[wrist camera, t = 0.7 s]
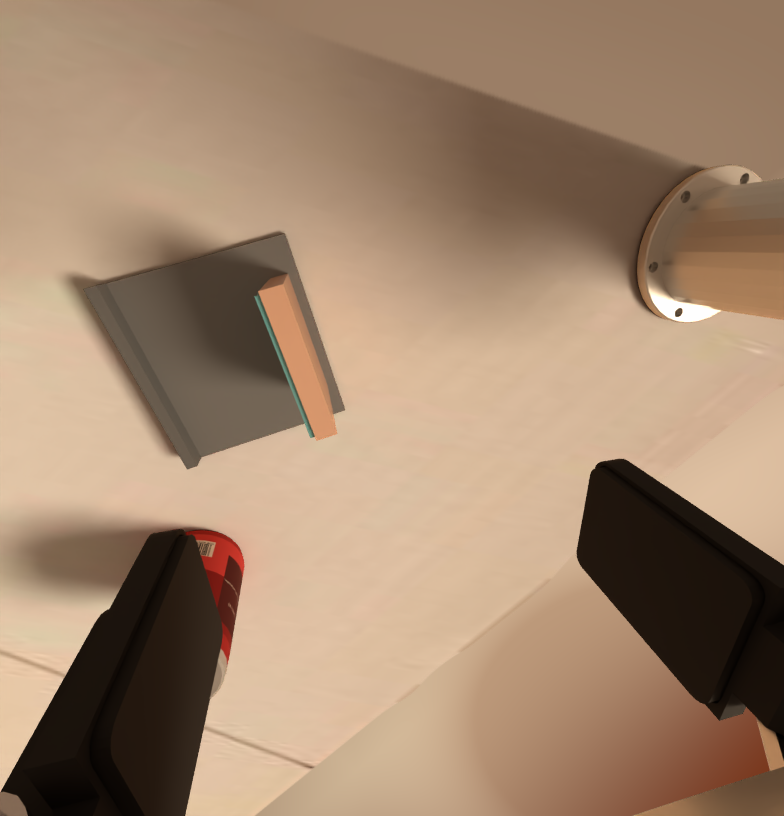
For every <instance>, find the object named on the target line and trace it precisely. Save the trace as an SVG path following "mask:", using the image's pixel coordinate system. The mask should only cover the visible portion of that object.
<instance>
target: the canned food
mask: <svg viewBox="0 0 784 816" xmlns="http://www.w3.org/2000/svg"><path fill="white" fill-rule="evenodd" d="M185 533H186V535H191V534H192V535H194V536H195V538H196V541H197V544H198V547H199V551H200V554H201V557H202V560H203V564H204V567H205V570H206V573H207V577H208V580H209V583H210V586H211V589H212V593H213V596H214V599H215V602H216V606H217V609H218V612H219V615H220V619H221V622H222V628H223V638H222V644H221V649H220V654H219V658H218V663H217V668H216V673H215V677H214V682H213V687H212V691H211V696H210V699H211V698H212V697H213V696H214V695H215V694H216V693H217V691H218V690H219V689H220V687H221V685H222V683H223V681H224V676H225V674H226V670H227V665H228V660H229V655H230V649H231V643H232V637H233V631H234V625H235V619H236V613H237V607H238V601H239V595H240V589H241V583H242V577H243V571H244V559H243V556H242V553H241V550H240V548H239V547H238V545H237V544H236V543H235V542H234V541H233V540H232V539H230V538H229V537H227V536H225V535H223V534H220V533H218V532H213V531H206V530H197V531H189V532H185Z"/></svg>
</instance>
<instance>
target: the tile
mask: <svg viewBox="0 0 784 816" xmlns="http://www.w3.org/2000/svg"><path fill="white" fill-rule="evenodd" d="M254 297H255V300H256V302H257V305H258V307H259V310H260V312H261V315H262V317H263V320H264V322H265V325H266V327H267V330H268V332H269V335H270V337H271V340H272V342H273V345H274V347H275V350H276V352H277V355H278V357H279V360H280V362H281V365H282V367H283V370H284V372H285V375H286V377H287V380H288V383H289V385H290V388H291V390H292V393H293V395H294V398H295V400H296V403H297V405H298V408H299V410H300V413H301V415H302V418H303V420H304V423H305V425H306V428H307V430H308V433H309V435H310V438H312V437H315V438H316V440H320V439H323V438H326V437H329V436H332V435H335V434H337V430H336V425H335V420H334V415H333V410H332V405H331V400H330V395H329V390H328V385H327V383H326V380H325V377H324V374H323V371H322V368H321V365H320V363H319V360H318V357H317V354H316V351H315V348H314V346H313V343H312V340H311V337H310V334H309V331H308V329H307V326H306V323H305V320H304V317H303V314H302V312H301V309H300V306H299V303H298V300H297V297H296V295H295V292H294V289H293V286H292V283H291V280H290V278H289V275H288V273H287V274H284V275H280V276H277V277H273V278H270V279H269V280H268V281H267V282H266V283H265V285H264V286H263V287H262V288H261V289H260V290H259V291H258V293H257V294H256V295H255V296H254Z"/></svg>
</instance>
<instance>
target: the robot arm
mask: <svg viewBox="0 0 784 816" xmlns="http://www.w3.org/2000/svg"><path fill="white" fill-rule="evenodd" d="M637 277H638V286H639V289H640V292H641V295H642V298H643V299H644V301H645V303H646V305H647V306H648V307H649V308H650V309H651V310H652V311H653V312H654V313H655V314H656V315H658V316H660V317H662V318H663V319H667V320H671V321H675V322H683V323H689V322H697V321H700V320H703V319H706V318H709V317H711V316H713V315H714V314H716V313H718V312H720V311H728V312H734V313H741V314H748V315H754V316H761V317H767V318H774V319H781V320H784V178H782V179H775V180H768V181H762V180H761V178H760V177H759V176H758V175H757V174H755V173H754V172H753V171H752V170H750V169H748V168H745V167H743V166H740V165H723V166H716V167H711V168H708V169H705V170H701V171H699V172H697V173H695V174H693V175H691V176H689V177H688V178H686V179H685V180H684V181H682V182H681V183H680V184H679V185H677V186H676V187H675V188H674V189H673V190H672V191H671V192H670V193H669V194H668V195H667V196H666V197H665V199H664V200H663V201H662V203H661V204H660V205H659V207H658V208H657V210H656V211H655V213H654V214H653V216H652V218H651V220H650V222H649V224H648V226H647V228H646V230H645V233H644V236H643V239H642V242H641V245H640V250H639V255H638V264H637ZM577 558H578V561H579V563H580V565H581V567H582V568H583V569H584V570H585V571H586V573H587V574H588V575H589V576H590V577H591V579H592V580H593V581H594V582H595V583H596V584H597V586H598V587H599V588H600V589H601V590H602V592H603V593H604V594H605V595H606V596H607V597H608V598H609V600H610V601H611V602H612V603H613V604H614V606H615V607H616V608H617V609H618V610H619V611H620V613H621V614H622V615H623V616H624V617H625V618H626V619H627V621H628V622H629V623H630V624H631V625H632V626H633V628H634V629H635V630H636V631H637V632H638V634H639V635H640V636H641V637H642V638H643V639H644V641H645V642H646V643H647V644H648V645H649V646H650V648H651V649H652V650H653V651H654V652H655V653H656V655H657V656H658V657H659V658H660V659H661V660H662V662H663V663H664V664H665V665H666V666H667V667H668V668H669V670H670V671H671V672H672V673H673V674H674V676H675V677H676V678H677V679H678V680H679V681H680V683H681V684H682V685H683V686H684V687H685V689H686V690H687V691H688V692H689V693H690V694H691V695H692V696H693V697H694V698H695V699H696V700H697V701H699V702H700V703H703V704H705V705H706V706H707V707H708V708H709V709H710V710H711V712H712V713H713V714H714V715H715V716H716V717H717V719H718V720H719V721H720V720H723V719H726V718H729V717H733V716H737V715H740V714H743V712H744V710H745V708H746V707H747V708H748V709H749V710H750V711H751V712H752V713H753V714H754V715H755V716H756V717H757V722H758V726H759V730H760V733H761V737H762V741H763V745H764V749H765V753H766V756H767V760H768V764H769V768H770V771H768V772H765V773H762V774H759V775H756V776H753V777H750V778H747V779H744V780H741V781H738V782H735V783H731V784H728V785H725V786H722V787H719V788H716V789H713V790H710V791H707V792H704V793H701V794H698V795H694V796H692V797H688V798H685V799H682V800H679V801H676V802H673V803H670V804H667V805H664V806H661V807H658V808H655V809H652V810H649V811H646V812H643V813H640V814H637V815H634V816H784V565H782V564H781V563H780V562H778V561H777V560H775V559H774V558H772V557H771V556H769V555H767V554H766V553H764V552H763V551H761V550H760V549H759V548H757V547H755V546H754V545H753V544H751V543H749V542H748V541H747V540H745V539H744V538H742V537H741V536H739V535H738V534H736V533H735V532H733V531H732V530H730V529H729V528H727V527H726V526H724V525H723V524H721V523H720V522H718V521H717V520H715V519H714V518H712V517H711V516H709V515H708V514H706V513H705V512H703V511H702V510H700V509H699V508H697V507H696V506H694V505H693V504H691V503H690V502H689V501H687V500H686V499H684V498H682V497H681V496H680V495H678V494H677V493H675V492H674V491H672V490H671V489H669V488H668V487H666V486H665V485H663V484H662V483H660V482H659V481H657V480H656V479H654V478H653V477H651V476H650V475H648V474H647V473H645V472H644V471H642V470H641V469H639V468H638V467H636V466H635V465H633V464H632V463H630V462H629V461H627V460H625V459H615V460H609V461H603V462H600V463H598V464H597V465H596V467H595V469H593V470H592V471H591V474H590V479H589V485H588V490H587V496H586V502H585V507H584V513H583V519H582V524H581V530H580V536H579V541H578V547H577ZM222 638H223V628H222V622H221V619H220V615H219V612H218V609H217V606H216V602H215V599H214V596H213V593H212V589H211V586H210V583H209V580H208V577H207V573H206V570H205V567H204V564H203V560H202V557H201V554H200V551H199V547H198V544H197V541H196V538H195V536H194V535H192V534H191V535H186V533H185V531H184V530H182V529H178V530H172V531H165V532H159V533H153V534H151V535H150V536H149V537H148V539H147V541H146V542H145V544H144V546H143V548H142V550H141V552H140V554H139V555H138V557H137V559H136V561H135V563H134V565H133V566H132V568H131V570H130V572H129V574H128V576H127V578H126V579H125V581H124V583H123V585H122V587H121V589H120V590H119V592H118V594H117V596H116V598H115V600H114V602H113V603H112V605H111V607H110V609H109V610H106V611H105V612H104V613H102V614H101V615H100V617H99V618H98V619H97V621H96V622H95V624H94V626H93V628H92V629H91V631H90V633H89V635H88V637H87V638H86V640H85V642H84V644H83V645H82V647H81V649H80V651H79V653H78V654H77V656H76V658H75V660H74V662H73V663H72V665H71V667H70V669H69V670H68V672H67V674H66V676H65V678H64V679H63V681H62V683H61V685H60V687H59V688H58V690H57V692H56V694H55V695H54V697H53V699H52V701H51V703H50V704H49V706H48V708H47V710H46V712H45V713H44V715H43V717H42V719H41V720H40V722H39V724H38V726H37V728H36V729H35V731H34V733H33V735H32V737H31V738H30V740H29V742H28V744H27V746H26V747H25V749H24V751H23V753H22V754H21V756H20V758H19V760H18V762H17V763H16V765H15V767H14V769H13V771H12V772H11V774H10V776H9V778H8V779H7V781H6V783H5V785H4V787H3V788H2V790H1V792H0V816H185V814H186V809H187V804H188V799H189V795H190V790H191V785H192V781H193V776H194V771H195V767H196V762H197V757H198V752H199V748H200V743H201V738H202V734H203V729H204V724H205V720H206V715H207V710H208V705H209V701H210V696H211V691H212V687H213V682H214V677H215V673H216V668H217V663H218V658H219V654H220V649H221V644H222Z"/></svg>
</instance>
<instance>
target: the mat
mask: <svg viewBox="0 0 784 816" xmlns="http://www.w3.org/2000/svg"><path fill="white" fill-rule="evenodd" d="M287 273H288V275H289V278H290V280H291V283H292V286H293V289H294V292H295V295H296V297H297V300H298V303H299V306H300V309H301V312H302V314H303V317H304V320H305V323H306V326H307V329H308V331H309V334H310V337H311V340H312V343H313V346H314V348H315V351H316V354H317V357H318V360H319V363H320V365H321V368H322V371H323V374H324V377H325V380H326V383H327V385H328V390H329V395H330V400H331V405H332V410H333V414H335V413H338V412H341V411H344V410H345V408H344V405H343V402H342V399H341V396H340V393H339V390H338V387H337V384H336V382H335V379H334V376H333V373H332V370H331V367H330V364H329V361H328V358H327V355H326V352H325V349H324V346H323V344H322V341H321V338H320V335H319V332H318V329H317V326H316V323H315V320H314V317H313V314H312V311H311V308H310V305H309V303H308V300H307V297H306V294H305V291H304V288H303V285H302V282H301V279H300V276H299V273H298V270H297V267H296V265H295V262H294V259H293V256H292V253H291V250H290V247H289V244H288V241H287V238H286V235H285V234H282V235H278V236H274V237H271V238H267V239H264V240H260V241H257V242H253V243H249V244H246V245H242V246H239V247H235V248H231V249H228V250H224V251H221V252H217V253H214V254H210V255H206V256H203V257H199V258H196V259H192V260H189V261H185V262H181V263H178V264H174V265H171V266H167V267H164V268H160V269H156V270H153V271H149V272H146V273H142V274H138V275H135V276H131V277H128V278H124V279H121V280H117V281H113V282H110V283H106V284H101V285H96V286H92V287H89V288H85V289H83V290H84V292H85V293H86V295H87V297H88V299H89V300H90V302H91V304H92V305H93V307H94V309H95V311H96V312H97V314H98V316H99V318H100V319H101V321H102V323H103V325H104V326H105V328H106V330H107V331H108V333H109V335H110V337H111V338H112V340H113V342H114V344H115V345H116V347H117V349H118V351H119V352H120V354H121V356H122V357H123V359H124V361H125V363H126V364H127V366H128V368H129V370H130V371H131V373H132V375H133V376H134V378H135V380H136V382H137V383H138V385H139V387H140V389H141V390H142V392H143V394H144V396H145V397H146V399H147V401H148V402H149V404H150V406H151V408H152V409H153V411H154V413H155V415H156V416H157V418H158V420H159V422H160V423H161V425H162V427H163V428H164V430H165V432H166V434H167V435H168V437H169V439H170V441H171V442H172V444H173V446H174V447H175V449H176V451H177V453H178V454H179V456H180V458H181V460H182V461H183V463H184V465H185V467H186V468H187V469H190V468H193V467H196V466H198V463H199V461H200V459H201V457H204V456H207V455H210V454H213V453H216V452H219V451H222V450H225V449H228V448H231V447H234V446H237V445H240V444H243V443H246V442H249V441H252V440H256V439H259V438H262V437H265V436H268V435H271V434H274V433H277V432H280V431H283V430H286V429H289V428H292V427H295V426H298V425H301V424H304V420H303V418H302V415H301V413H300V410H299V408H298V405H297V403H296V400H295V398H294V395H293V393H292V390H291V388H290V385H289V383H288V380H287V377H286V375H285V372H284V370H283V367H282V365H281V362H280V360H279V357H278V355H277V352H276V350H275V347H274V345H273V342H272V340H271V337H270V335H269V332H268V330H267V327H266V325H265V322H264V320H263V317H262V315H261V312H260V310H259V307H258V305H257V302H256V300H255V297H254V296H255V295H256V294H257V293H258V291H259V290H260V289H261V288H262V287H263V286H264V285H265V283H266V282H267V281H268V280H269V279H270V278H273V277H277V276H280V275H284V274H287Z"/></svg>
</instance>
